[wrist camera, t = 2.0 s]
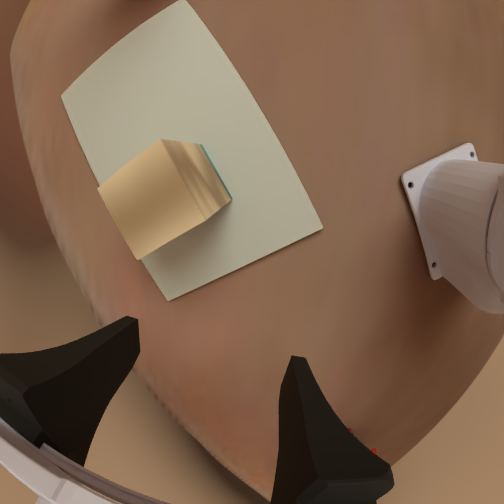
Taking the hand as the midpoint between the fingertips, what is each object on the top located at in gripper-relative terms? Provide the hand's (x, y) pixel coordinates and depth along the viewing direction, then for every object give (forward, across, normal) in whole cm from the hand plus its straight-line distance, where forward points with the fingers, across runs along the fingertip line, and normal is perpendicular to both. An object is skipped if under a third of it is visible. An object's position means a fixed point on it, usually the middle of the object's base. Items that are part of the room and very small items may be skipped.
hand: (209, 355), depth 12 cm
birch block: (+10, +5, -6) cm, 12 cm away
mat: (+10, +7, -9) cm, 15 cm away
